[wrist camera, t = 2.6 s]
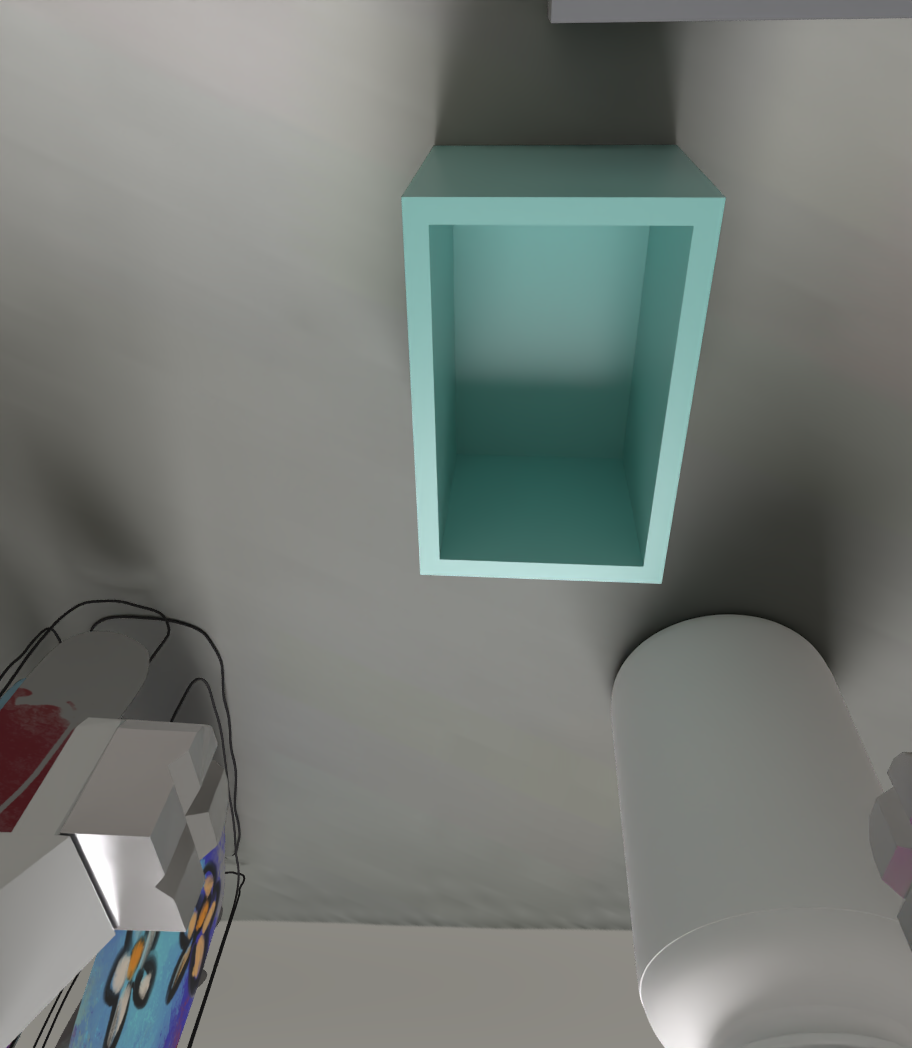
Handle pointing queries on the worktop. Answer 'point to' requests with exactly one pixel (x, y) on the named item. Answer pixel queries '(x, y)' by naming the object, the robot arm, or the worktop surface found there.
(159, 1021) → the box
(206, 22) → the worktop surface
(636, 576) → the small crate
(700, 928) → the pill bottle
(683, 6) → the large crate
